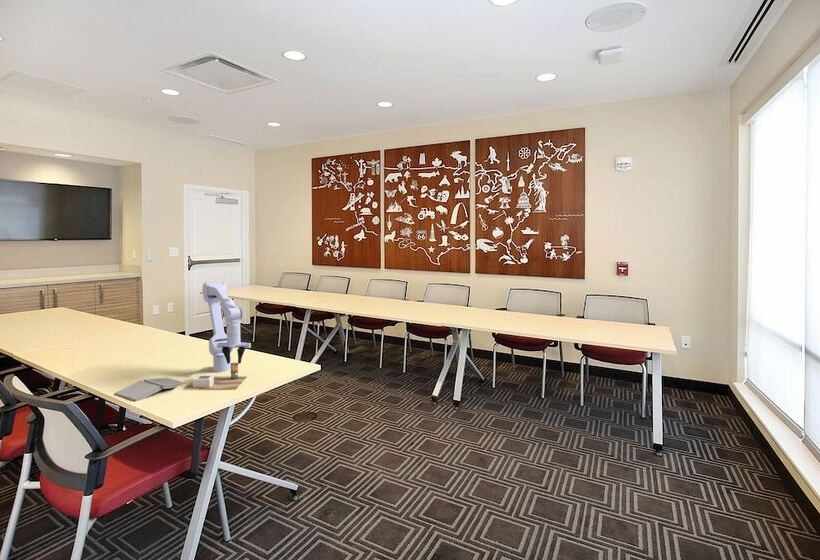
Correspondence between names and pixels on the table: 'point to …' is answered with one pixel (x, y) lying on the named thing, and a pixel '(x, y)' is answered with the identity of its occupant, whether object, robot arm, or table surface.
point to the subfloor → (220, 383)
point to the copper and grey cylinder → (234, 370)
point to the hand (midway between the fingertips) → (234, 363)
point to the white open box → (203, 381)
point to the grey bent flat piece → (147, 388)
